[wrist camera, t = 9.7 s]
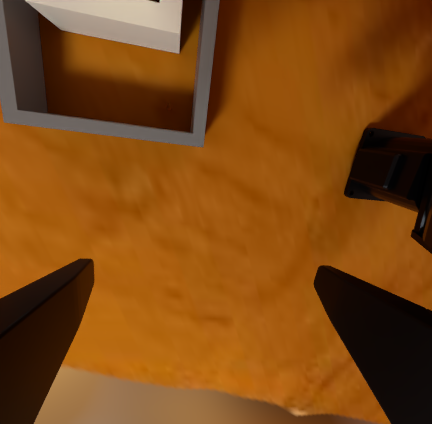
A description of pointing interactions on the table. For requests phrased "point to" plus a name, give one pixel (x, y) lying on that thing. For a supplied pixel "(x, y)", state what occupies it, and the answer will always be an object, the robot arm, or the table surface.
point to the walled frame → (107, 29)
